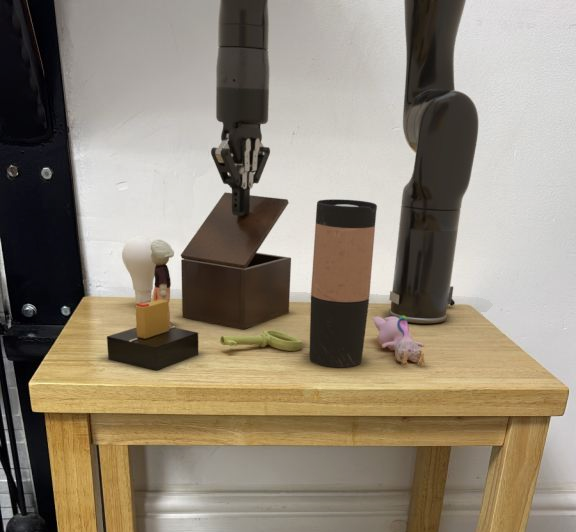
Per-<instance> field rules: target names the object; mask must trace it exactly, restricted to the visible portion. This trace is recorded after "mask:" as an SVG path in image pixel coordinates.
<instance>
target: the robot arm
mask: <svg viewBox="0 0 576 532" xmlns="http://www.w3.org/2000/svg"><path fill="white" fill-rule="evenodd" d="M403 1H404V3H403V4H404V28H405V29H404V31H405V46H406V50H405V52H406V55H405V57H406V66H405V82H404V95H403V96H404V97H403V110H402V111H403V112H402V130H403V135H404V140H405V141H406V144H407V145H408V147H409V148H410V149H411V151H413V153H415V157H414V164H413V171H412V174H411V176H410V179H409V181H408V182H407V183H406V184H405V186H404V187H403V189H402V194H401V205H400V213H399V222H398V234H397V242H396V252H395V260H394V261H395V262H394V273H393V279H392V280H393V281H392V290H390V291H389V301H390V308H389V313H388V315H389V317H392V316H394V317H397V318H400V317H401V316H403V315H404V316H406V320H407V323H411V324H422V325H424V324H425V325H426V324H427V325H430V324H431V325H432V324H439V323H443V322H445V321H447V317H448V313H447V312H448V306H451V307H453V306H454V305H455V301H454V299H453V292H454V286H451V283H452V276H453V268H454V261H455V254H456V246H457V240H458V233H459V232H458V231H459V225H460V217H461V209H462V204H463V199H464V196H465V194H466V192H467V191H468V188H469V185H470V181H471V177H472V170H473V165H474V159H475V154H476V148H477V143H478V137H479V136H478V135H479V113H478V109H477V107H476V104H475V103H474V101H473V99H472V98H471V97H470V96H469V95H467V94H465V93H464V92H462V91H459V90H455V67H454V66H455V63H454V61H455V47H456V41H457V36H458V32H459V28H460V24H461V20H462V17H463V12H464V9H465V6H466V1H467V0H403ZM219 2H220V3H219V9H218V25H217V26H218V27H217V34H218V35H217V46H218V48H217V59H216V66H215V67H216V71H215V72H216V78H215V80H216V81H215V85H216V86H215V87H216V91H215V93H216V95H215V101H216V102H215V117H216V118H215V119H216V120H217V121H218V122H219V123H222V130H221V134H220V140H221V142H220V144H219V145H218V147H215V146H214V147H211V150H210V155H211V157H212V160H213V162H214V165H215V167H216V169H217V172H218V174H219V176H220V179H221V181H222V183H223V185H228V186H229V188H230V189H231V193H232V213H233V215H238V216H244V215H248V214H249V207H250V195H251V194H250V193H251V189H252V188H253V187H254V184H259V182H260V180H261V177H262V175H263V172H264V170H265V167H266V164H267V162H268V159H269V157H270V154H271V148H270V147H267V146H265V145H264V144H263V143H262V140H263V135H262V129H261V125H265V124H267V123H268V121H269V105H270V104H269V100H270V58H269V45H270V42H269V41H270V14H269V13H270V12H269V0H219Z"/></svg>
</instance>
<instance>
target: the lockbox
mask: <svg viewBox="0 0 576 532" xmlns="http://www.w3.org/2000/svg"><path fill="white" fill-rule="evenodd" d="M180 261H181V263H180V265H181V266H180V267H181V269H180V270H181V312H182V313H181V314H182V315H181V317H182V318H185V319H190V320H195V321H199V322H205V323H209V324H215V325H220V326H224V327H230V328H235V329H240V330H246V329H249V328H252V327H254V326H257V325H260V324H263V323H265V322H268V321H272V320H273V319H277V318H279V317H282V316H284V315H287V314H289V313H290V297H291V296H290V293H291V274H292V273H291V271H292V258H291V257H290V256H289V257H288V256H281V255H276V254H268V253H262V252H256V254H255V255H254V257H253V258H252V260H251V261H250V263H249V265H248V266H247V268H246V269H244V268H238V267H232V266H226V265H219V264H213V263H207V262H201V261H194V260H188V259H182V258H181V260H180Z"/></svg>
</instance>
